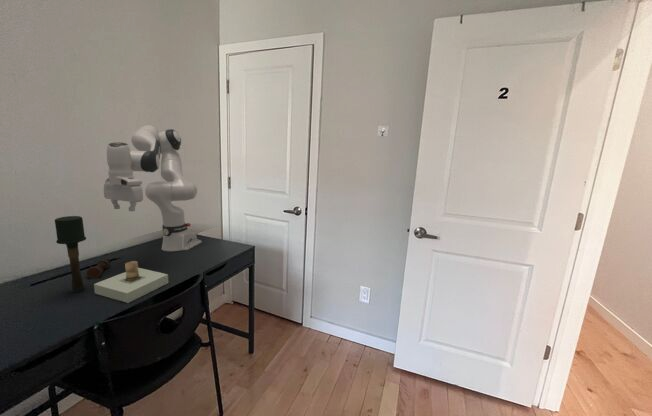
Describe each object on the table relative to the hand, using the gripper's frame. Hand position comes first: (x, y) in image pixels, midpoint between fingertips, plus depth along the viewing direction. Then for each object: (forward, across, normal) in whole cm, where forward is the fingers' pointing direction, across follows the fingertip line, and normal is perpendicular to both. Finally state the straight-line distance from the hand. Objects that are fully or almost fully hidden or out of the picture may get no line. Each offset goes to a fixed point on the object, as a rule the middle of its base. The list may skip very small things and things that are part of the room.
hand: (124, 210), depth 127 cm
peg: (+29, +18, -12) cm, 36 cm away
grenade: (+29, +1, -22) cm, 37 cm away
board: (+29, +18, -12) cm, 36 cm away
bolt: (+30, -10, -6) cm, 32 cm away
